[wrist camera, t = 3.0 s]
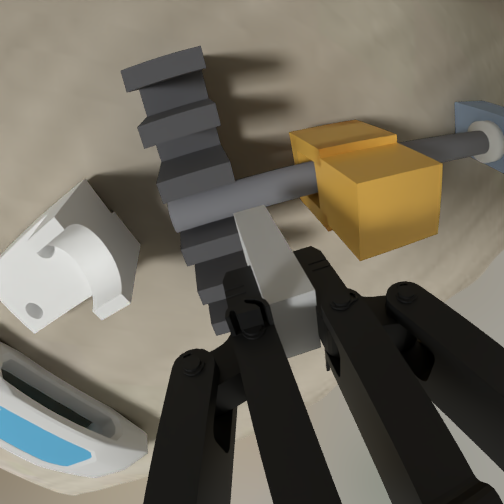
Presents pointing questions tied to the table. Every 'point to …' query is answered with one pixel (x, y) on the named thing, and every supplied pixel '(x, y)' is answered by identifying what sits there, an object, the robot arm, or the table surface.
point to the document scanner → (63, 424)
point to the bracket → (69, 261)
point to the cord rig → (254, 187)
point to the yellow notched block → (369, 186)
